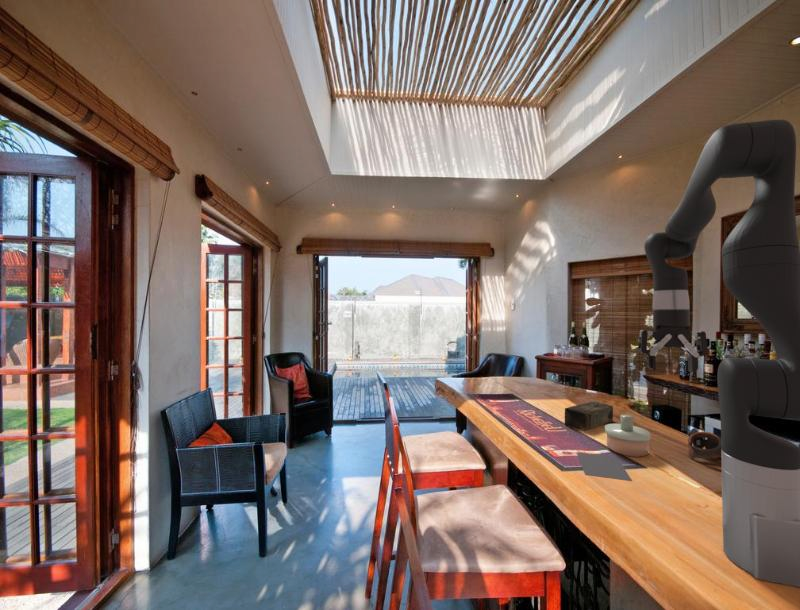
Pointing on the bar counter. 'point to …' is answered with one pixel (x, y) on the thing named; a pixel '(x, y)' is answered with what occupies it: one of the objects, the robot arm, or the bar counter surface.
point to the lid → (627, 430)
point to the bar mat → (603, 466)
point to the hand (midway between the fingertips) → (672, 371)
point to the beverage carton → (588, 415)
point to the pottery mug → (704, 445)
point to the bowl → (627, 446)
